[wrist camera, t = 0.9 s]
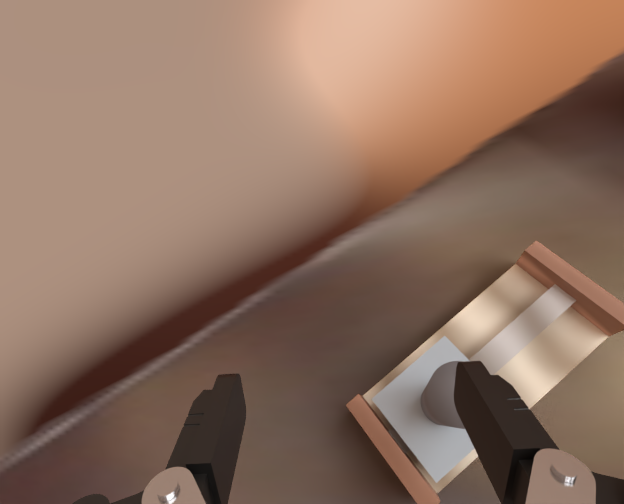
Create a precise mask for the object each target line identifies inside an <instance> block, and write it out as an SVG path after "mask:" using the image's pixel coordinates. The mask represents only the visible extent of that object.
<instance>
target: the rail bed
mask: <svg viewBox="0 0 624 504" xmlns="http://www.w3.org/2000/svg"><path fill="white" fill-rule="evenodd" d="M623 330H624V303H622V302H621V301H619V300H618V299H617V298H615V297H614V296H613V295H611V294H610V293H608V292H607V291H606V290H604V289H603V288H601V287H600V286H599V285H597V284H596V283H595V282H593V281H592V280H590V279H589V278H588V277H586V276H585V275H583V274H582V273H581V272H579V271H578V270H577V269H575V268H574V267H572V266H571V265H570V264H568V263H567V262H565V261H564V260H563V259H561V258H560V257H558V256H557V255H556V254H554V253H553V252H552V251H550V250H549V249H547V248H546V247H545V246H543V245H542V244H540V243H539V242H538V241H535V242H534V243H533V244H532V245H530V246H529V247H528V248H527V249H526V250H525V251H524V252H523V254H522V255H521V257H520V258H519V260H518V261H517V262H516V264H515V265H514V266H512V267H511V268H510V269H509V270H508V271H507V272H505V273H504V274H503V275H502V276H501V277H500V278H498V279H497V280H496V281H495V282H494V283H493V284H492V285H490V286H489V287H488V288H487V289H486V290H485V291H483V292H482V293H481V294H480V295H479V296H478V297H477V298H475V299H474V300H473V301H472V302H471V303H470V304H468V305H467V306H466V307H465V308H464V309H463V310H461V311H460V312H459V313H458V314H457V315H456V316H455V317H453V318H452V319H451V320H450V321H449V322H448V323H446V324H445V325H444V326H443V327H442V328H441V329H439V330H438V331H437V332H436V333H435V334H434V335H433V336H431V337H430V338H429V339H428V340H427V341H426V342H424V343H423V344H422V345H421V346H420V347H419V348H418V349H416V350H415V351H414V352H413V353H412V354H411V355H409V356H408V357H407V358H406V359H405V360H404V361H402V362H401V363H400V364H399V365H398V366H397V367H396V368H394V369H393V370H392V371H391V372H390V373H389V374H387V375H386V376H385V377H384V378H383V379H382V380H380V381H379V382H378V383H377V384H376V385H375V386H374V387H372V388H371V389H370V390H369V391H368V392H367V393H365V394H364V395H363V396H362V395H360V394H358V395H357V396H355V397H354V398H353V399H352V400H351V401H350V402H348V403H347V404H346V406H347V407H348V409H349V410H350V412H351V413H352V414H353V416H354V417H355V418H356V420H357V421H358V423H359V424H360V425H361V427H362V428H363V429H364V431H365V432H366V434H367V435H368V436H369V438H370V439H371V441H372V442H373V443H374V445H375V446H376V447H377V449H378V450H379V452H380V453H381V454H382V456H383V457H384V458H385V460H386V461H387V463H388V464H389V465H390V467H391V468H392V469H393V471H394V472H395V474H396V475H397V476H398V478H399V479H400V481H401V482H402V483H403V485H404V486H405V487H406V489H407V490H408V492H409V493H410V494H411V496H412V497H413V498H414V500H415V501H416V503H417V504H438V503H439V502H440V500H439V497H438V493H439V492H440V491H441V490H442V489H443V488H444V487H445V486H446V485H447V484H448V483H450V482H451V481H452V480H453V479H454V478H455V477H456V476H457V475H458V474H459V473H460V472H461V471H463V470H464V469H465V468H466V467H467V466H468V465H469V464H470V463H471V462H472V461H473V460H475V459H476V458H477V457H478V454H477V452H476V450H475V448H474V449H473V450H472V451H471V452H470V453H469V454H468V455H467V456H466V457H464V458H463V459H462V460H461V461H460V462H459V463H458V464H457V465H456V466H455V467H453V468H452V469H451V470H450V471H449V472H448V473H447V474H446V475H445V476H444V477H443V478H441V479H440V480H439V481H438V482H437V483H436V482H435V481H434V479H433V478H432V477H431V475H430V474H429V473H428V472H427V470H426V469H425V468H424V466H423V465H422V464H421V462H420V461H419V460H418V459H417V457H416V456H415V455H414V453H413V452H412V451H411V449H410V448H409V447H408V446H407V444H406V443H405V442H404V440H403V439H402V438H401V437H400V435H399V434H398V433H397V431H396V430H395V429H394V427H393V426H392V425H391V424H390V422H389V421H388V420H387V418H386V417H385V416H384V415H383V413H382V412H381V411H380V409H379V408H378V407H377V405H376V404H375V403H374V402H373V400H372V398H373V397H375V396H376V395H377V394H378V393H379V392H380V391H381V390H383V389H384V388H385V387H386V386H387V385H388V384H390V383H391V382H392V381H393V380H394V379H395V378H396V377H398V376H399V375H400V374H401V373H402V372H403V371H405V370H406V369H407V368H408V367H409V366H410V365H411V364H413V363H414V362H415V361H416V360H417V359H418V358H419V357H421V356H422V355H423V354H424V353H425V352H426V351H428V350H429V349H430V348H431V347H432V346H433V345H434V344H436V343H437V342H438V341H439V340H440V339H441V338H443V337H444V336H446V337H447V338H448V339H449V340H450V341H451V342H452V343H453V344H454V345H455V346H456V347H457V348H458V349H459V351H460V352H461V353H462V354H463V355H464V356H465V357H466V358H467V359H468V360H469V361H481V362H482V363H483V364H484V366H485V367H486V369H487V370H488V372H489V373H490V375H499V376H501V377H502V378H503V379H505V380H506V381H507V382H509V383H510V384H511V385H512V386H513V387H514V389H515V390H516V391H517V393H518V394H519V395H520V397H521V400H523V401H524V402H525V404H526V405H527V406H528V409H530V408H531V407H532V406H533V405H534V404H535V403H537V402H538V401H539V400H540V399H541V398H542V397H543V396H544V395H545V394H546V393H547V392H549V391H550V390H551V389H552V388H553V387H554V386H555V385H556V384H557V383H558V382H559V381H561V380H562V379H563V378H564V377H565V376H566V375H567V374H568V373H569V372H570V371H571V370H572V369H574V368H575V367H576V366H577V365H578V364H579V363H580V362H581V361H582V360H583V359H584V358H586V357H587V356H588V355H589V354H590V353H591V352H592V351H593V350H594V349H595V348H596V347H598V346H599V345H600V344H601V343H602V342H603V341H604V340H605V339H606V338H607V337H608V336H611V335H613V334H615V333H618V332H620V331H623Z"/></svg>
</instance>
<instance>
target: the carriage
mask: <svg viewBox="0 0 624 504" xmlns="http://www.w3.org/2000/svg"><path fill="white" fill-rule="evenodd" d="M465 361H469V360H468V359H467V358H466V357H465V356H464V355H463V354H462V353H461V352H460V351H459V349H458V348H457V347H456V346H455V345H454V344H453V343H452V342H451V341H450V340H449V339H448V338H447V337H446V336H444V337H443V338H441V339H440V340H439V341H438V342H437V343H436V344H434V345H433V346H432V347H431V348H430V349H429V350H428V351H426V352H425V353H424V354H423V355H422V356H421V357H419V358H418V359H417V360H416V361H415V362H414V363H413V364H411V365H410V366H409V367H408V368H407V369H406V370H405V371H403V372H402V373H401V374H400V375H399V376H398V377H396V378H395V379H394V380H393V381H392V382H391V383H390V384H388V385H387V386H386V387H385V388H384V389H383V390H381V391H380V392H379V393H378V394H377V395H376V396H375V397H373V398H372V400H373V402H374V403H375V404H376V405H377V407H378V408H379V409H380V411H381V412H382V413H383V415H384V416H385V417H386V418H387V420H388V421H389V422H390V424H391V425H392V426H393V427H394V429H395V430H396V431H397V433H398V434H399V435H400V437H401V438H402V439H403V440H404V442H405V443H406V444H407V446H408V447H409V448H410V449H411V451H412V452H413V453H414V455H415V456H416V457H417V459H418V460H419V461H420V462H421V464H422V465H423V466H424V468H425V469H426V470H427V472H428V473H429V474H430V475H431V477H432V478H433V479H434V481H435V482H436V483H437V482H438V481H439V480H440V479H441V478H443V477H444V476H445V475H446V474H447V473H448V472H449V471H450V470H451V469H452V468H453V467H455V466H456V465H457V464H458V463H459V462H460V461H461V460H462V459H463V458H464V457H466V456H467V455H468V454H469V453H470V452H471V451H472V450H473V449H474V446H473V444H472V442H471V440H470V438H469V436H468V434H467V432H466V430H465V428H464V426H463V423H462V421H461V419H460V417H459V415H458V413H457V411H456V407H455V403H454V386H455V376H456V367H457V363H458V362H465Z"/></svg>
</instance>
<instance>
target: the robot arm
mask: <svg viewBox="0 0 624 504" xmlns="http://www.w3.org/2000/svg"><path fill="white" fill-rule="evenodd" d="M454 403H455V407H456V411H457V413H458V415H459V417H460V419H461V421H462V423H463V426H464V428H465V430H466V432H467V434H468V436H469V438H470V440H471V442H472V444H473V446H474V448H475V450H476V452H477V454H478V456H479V459H480V461H481V463H482V465H483V467H484V469H485V471H486V473H487V475H488V477H489V479H490V481H491V483H492V485H493V487H494V490H495V492H496V494H497V496H498V498H499V500H500V502H501V504H624V480H623V479H618V478H614V477H610V476H605V475H601V474H597V473H594V472H591V471H590V470H589V469H588V468H587V467H586V465H585V464H583V463H582V462H581V461H580V460H579V459H577V458H576V457H574V456H572V455H571V454H569V453H566V452H564V451H561V450H559V448H558V447H557V446H556V444H555V443H554V442H553V440H552V439H551V438H550V436H549V435H548V433H547V432H546V431H545V429H544V428H543V427H542V425H541V424H540V423H539V421H538V420H537V419H536V417H535V416H534V414H533V413H532V412H531V410H529V409H528V406H527V405H526V404H525V402H524V401H523V400H521V397H520V395H519V394H518V393H517V391H516V390H515V389H514V387H513V386H512V385H511V384H510V383H509V382H507V381H506V380H505V379H503V378H502V377H501V376H499V375H490V373H489V372H488V370H487V369H486V367H485V366H484V364H483V363H482V362H481V361H465V362H458V363H457V367H456V376H455V386H454ZM245 420H246V405H245V399H244V394H243V388H242V383H241V378H240V375H239V374H222V375H218V376H217V378H216V381H215V384H214V387H213V389H212V390H203V392H202V393H201V394H200V395H199V396H198V397H197V398H196V399H195V400H194V402H193V404H192V406H191V409H190V411H189V414H188V417H187V418H186V421H185V423H184V427H183V428H182V431H181V433H180V435H179V438H178V440H177V443H176V445H175V448H174V450H173V452H172V455H171V457H170V460H169V462H168V464H167V467H166V469H165V470H164V471H162V472H161V473H159V474H158V475H156V476H155V477H154V478H153V479H152V480H151V481H150V482H149V484H148V485H147V487H146V488H145V490H144V491H142V492H140V493H138V494H136V495H133V496H130V497H127V498H125V499H122V500H119V501H116V502H114V503H111V504H228V499H229V494H230V490H231V485H232V481H233V476H234V471H235V467H236V462H237V458H238V453H239V448H240V444H241V439H242V435H243V430H244V425H245ZM73 504H110V502H109V500H108V499H107V498H106V497H105V496H103V495H100V494H93V495H88V496H85V497H83V498H81V499H79V500H77V501H76V502H74V503H73Z"/></svg>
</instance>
